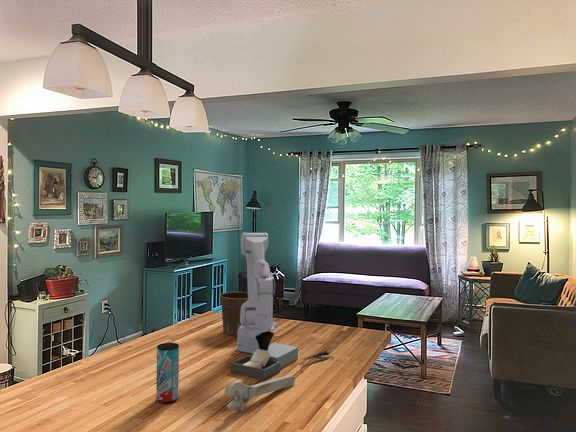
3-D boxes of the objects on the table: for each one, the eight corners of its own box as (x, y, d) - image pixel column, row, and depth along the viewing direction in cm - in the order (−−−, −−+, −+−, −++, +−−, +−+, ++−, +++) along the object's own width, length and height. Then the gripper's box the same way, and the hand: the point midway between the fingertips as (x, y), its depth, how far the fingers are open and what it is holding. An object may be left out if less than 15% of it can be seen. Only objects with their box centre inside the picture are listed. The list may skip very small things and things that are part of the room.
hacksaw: (325, 353, 174) (325, 349, 174) (346, 360, 166) (346, 356, 166) (276, 367, 158) (276, 363, 158) (296, 376, 150) (296, 371, 150)
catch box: (230, 371, 152) (230, 362, 152) (247, 363, 160) (247, 355, 160) (263, 380, 145) (264, 370, 145) (280, 371, 153) (280, 362, 153)
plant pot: (249, 326, 211) (250, 290, 210) (262, 335, 196) (263, 297, 195) (214, 329, 204) (214, 292, 204) (224, 339, 189) (225, 299, 189)
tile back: (253, 364, 154) (250, 359, 153) (259, 354, 158) (256, 348, 156) (264, 366, 152) (261, 361, 151) (270, 355, 155) (268, 350, 154)
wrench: (294, 394, 142) (226, 417, 118) (289, 392, 143) (221, 415, 119) (296, 367, 143) (229, 384, 119) (291, 365, 144) (224, 383, 120)
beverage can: (154, 397, 130) (155, 344, 130) (176, 394, 133) (176, 341, 133) (157, 405, 125) (158, 350, 125) (180, 402, 127) (181, 347, 127)
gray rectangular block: (252, 364, 160) (252, 352, 159) (274, 353, 172) (274, 342, 171) (276, 369, 154) (277, 357, 154) (297, 358, 166) (297, 347, 166)
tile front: (250, 360, 154) (250, 368, 154) (242, 364, 150) (242, 372, 150) (261, 363, 152) (261, 371, 152) (254, 367, 148) (253, 375, 148)
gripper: (262, 319, 148) (261, 362, 148) (285, 311, 160) (284, 350, 161) (243, 316, 151) (243, 358, 152) (268, 308, 164) (267, 346, 164)
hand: (263, 354), depth 156 cm, fingers closed, pressing on tile back
